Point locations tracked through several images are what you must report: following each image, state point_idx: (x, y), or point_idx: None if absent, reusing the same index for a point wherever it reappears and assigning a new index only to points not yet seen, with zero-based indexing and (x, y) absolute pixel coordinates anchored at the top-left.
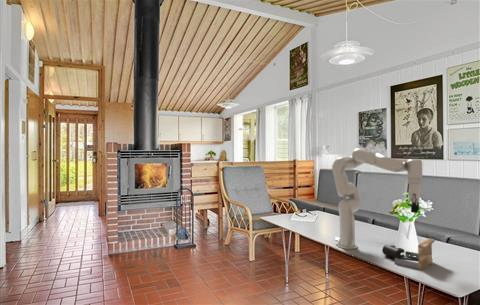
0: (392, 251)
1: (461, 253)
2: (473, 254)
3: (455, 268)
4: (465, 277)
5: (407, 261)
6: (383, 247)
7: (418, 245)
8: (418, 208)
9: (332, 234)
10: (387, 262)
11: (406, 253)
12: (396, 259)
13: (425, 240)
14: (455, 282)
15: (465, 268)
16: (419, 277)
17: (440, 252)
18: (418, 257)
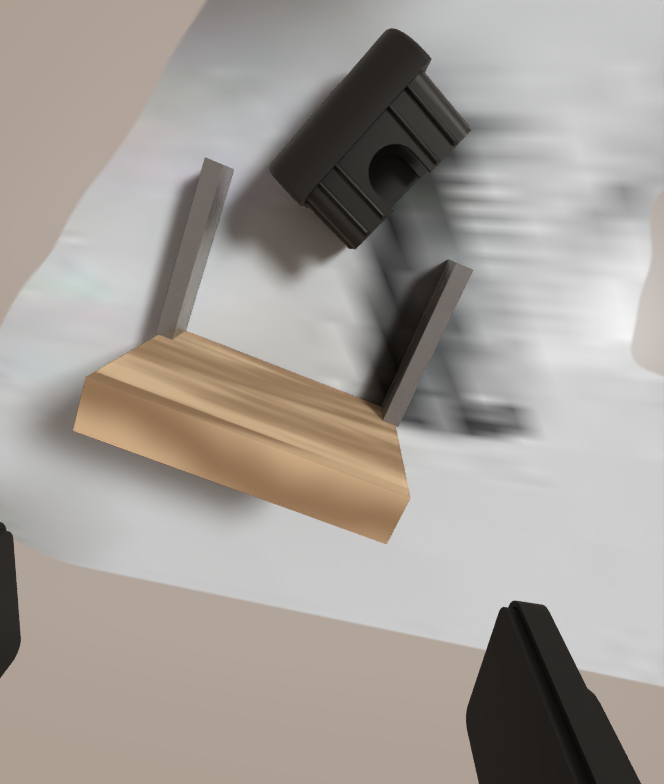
0: (299, 135)
1: (646, 621)
2: (640, 673)
3: (304, 532)
4: (168, 548)
5: (176, 260)
6: (389, 35)
7: (87, 378)
8: (477, 754)
9: None
10: (223, 102)
11: (449, 269)
12: (201, 174)
13: (310, 462)
14: (57, 489)
15: (329, 579)
16: (19, 316)
17: (638, 511)
18: (138, 347)
